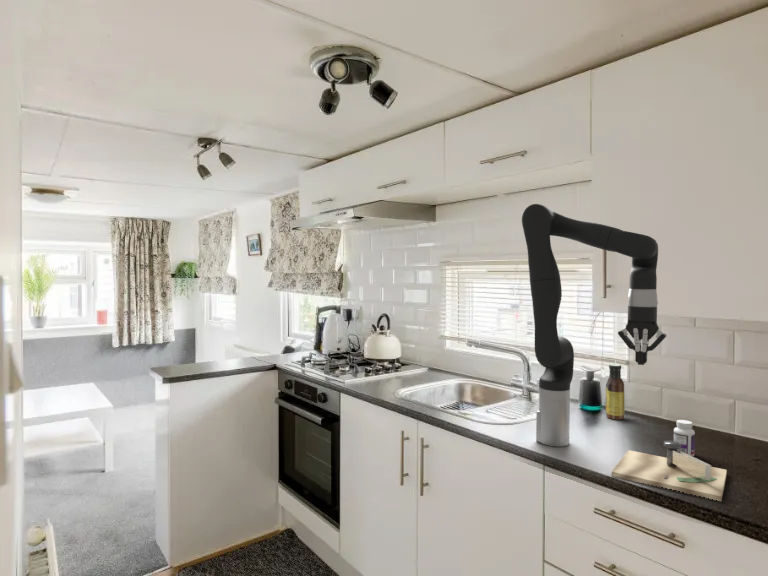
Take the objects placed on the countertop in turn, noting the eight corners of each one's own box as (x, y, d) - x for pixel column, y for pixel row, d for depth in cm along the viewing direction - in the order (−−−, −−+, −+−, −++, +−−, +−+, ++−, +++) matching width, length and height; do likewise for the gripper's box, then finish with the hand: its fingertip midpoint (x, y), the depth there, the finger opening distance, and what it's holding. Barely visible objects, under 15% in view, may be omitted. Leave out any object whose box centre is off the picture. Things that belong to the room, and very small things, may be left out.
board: (611, 476, 132) (611, 470, 131) (628, 454, 147) (628, 449, 147) (721, 501, 117) (721, 495, 117) (726, 474, 133) (726, 469, 133)
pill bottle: (686, 450, 150) (687, 418, 150) (698, 457, 145) (699, 424, 145) (669, 451, 150) (669, 419, 150) (680, 457, 145) (681, 424, 144)
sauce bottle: (612, 414, 188) (613, 362, 188) (628, 418, 183) (629, 364, 183) (601, 417, 185) (602, 363, 184) (617, 421, 180) (618, 366, 179)
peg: (660, 462, 137) (660, 441, 137) (672, 461, 138) (673, 440, 137) (700, 484, 123) (701, 460, 123) (714, 482, 124) (715, 459, 124)
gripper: (614, 304, 145) (613, 363, 146) (666, 306, 137) (665, 369, 138) (620, 303, 151) (619, 360, 152) (670, 305, 143) (669, 365, 144)
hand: (641, 364), depth 145 cm, fingers closed
